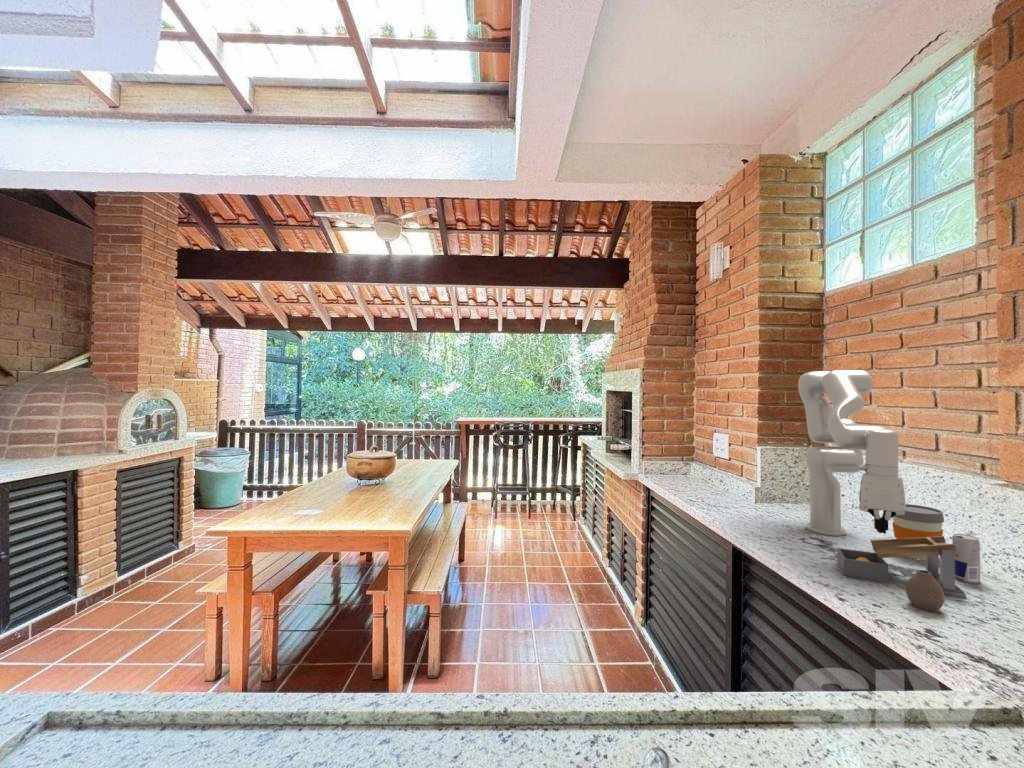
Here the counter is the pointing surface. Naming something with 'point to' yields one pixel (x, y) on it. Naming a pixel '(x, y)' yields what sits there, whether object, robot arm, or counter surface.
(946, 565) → the stand
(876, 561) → the bin
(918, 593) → the vase
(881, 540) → the wooden tilting tray
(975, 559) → the energy drink
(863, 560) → the ball
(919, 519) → the reusable coffee cup
